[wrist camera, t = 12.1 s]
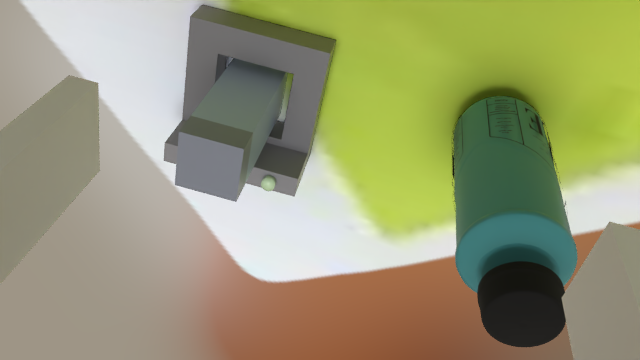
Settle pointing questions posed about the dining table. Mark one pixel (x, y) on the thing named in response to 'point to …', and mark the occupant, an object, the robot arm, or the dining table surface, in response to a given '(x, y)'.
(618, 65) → the dining table surface
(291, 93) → the port
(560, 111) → the dining table surface
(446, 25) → the dining table surface
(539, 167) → the beverage bottle
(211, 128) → the plug
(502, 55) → the dining table surface
